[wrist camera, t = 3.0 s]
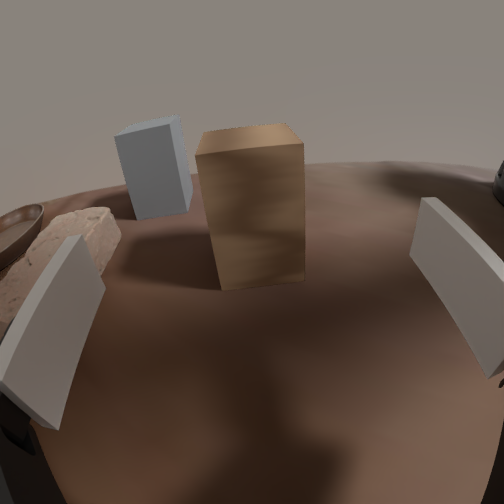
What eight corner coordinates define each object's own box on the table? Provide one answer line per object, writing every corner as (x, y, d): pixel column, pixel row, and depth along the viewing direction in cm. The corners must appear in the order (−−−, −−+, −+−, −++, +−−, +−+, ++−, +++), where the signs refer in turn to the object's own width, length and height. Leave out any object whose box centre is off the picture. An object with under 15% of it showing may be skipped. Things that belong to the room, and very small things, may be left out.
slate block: (193, 190, 37) (179, 114, 31) (187, 212, 32) (169, 123, 26) (148, 197, 37) (131, 124, 31) (137, 220, 32) (114, 136, 26)
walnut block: (290, 236, 26) (285, 123, 20) (304, 281, 21) (303, 143, 16) (222, 244, 26) (203, 132, 21) (221, 291, 21) (194, 155, 16)
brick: (67, 244, 30) (52, 210, 27) (126, 237, 30) (113, 198, 27) (0, 357, 17) (-32, 318, 14) (65, 368, 17) (29, 324, 14)
